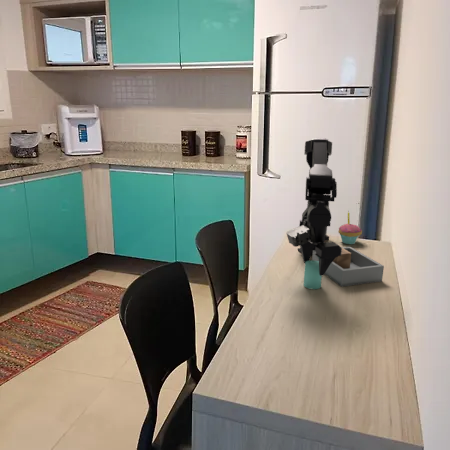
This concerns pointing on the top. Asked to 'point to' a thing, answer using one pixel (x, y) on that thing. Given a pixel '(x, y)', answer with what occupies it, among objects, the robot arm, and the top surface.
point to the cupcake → (349, 232)
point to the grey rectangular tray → (354, 270)
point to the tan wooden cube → (343, 259)
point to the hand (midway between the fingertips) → (313, 269)
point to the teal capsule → (312, 275)
